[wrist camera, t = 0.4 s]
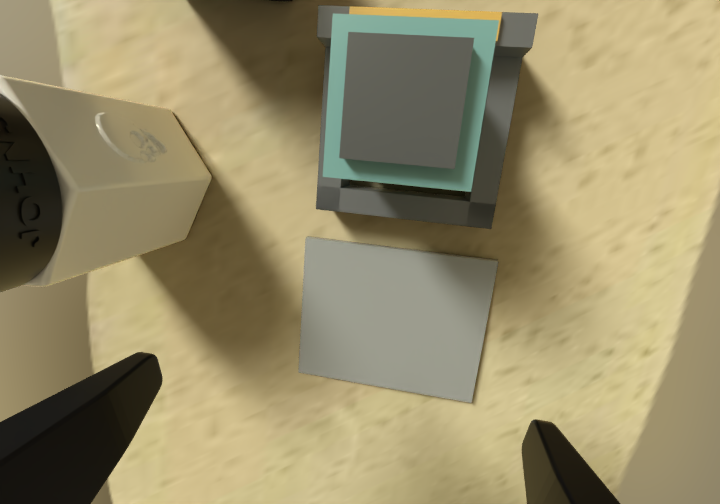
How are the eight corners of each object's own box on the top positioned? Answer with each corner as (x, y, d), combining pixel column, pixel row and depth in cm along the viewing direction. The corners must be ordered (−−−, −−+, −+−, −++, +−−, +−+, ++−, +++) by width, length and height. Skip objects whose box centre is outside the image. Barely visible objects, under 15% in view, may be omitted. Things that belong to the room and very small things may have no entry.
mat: (470, 398, 23) (471, 402, 23) (300, 369, 25) (298, 372, 24) (497, 260, 21) (498, 262, 21) (307, 236, 22) (305, 237, 22)
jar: (236, 207, 23) (45, 256, 11) (142, 267, 25) (-99, 360, 13) (152, 72, 22) (-155, -28, 10) (61, 146, 24) (-280, 134, 12)
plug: (448, 176, 20) (473, 193, 10) (368, 168, 21) (317, 177, 11) (461, 89, 19) (503, 11, 9) (376, 83, 20) (327, 4, 10)
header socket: (483, 220, 21) (498, 236, 16) (328, 203, 22) (305, 213, 18) (514, 43, 18) (540, 10, 14) (339, 35, 20) (316, 2, 15)
